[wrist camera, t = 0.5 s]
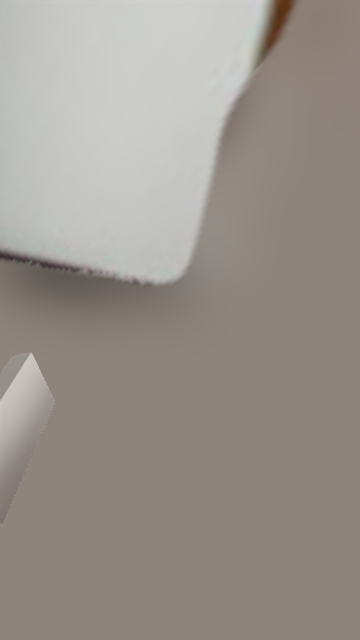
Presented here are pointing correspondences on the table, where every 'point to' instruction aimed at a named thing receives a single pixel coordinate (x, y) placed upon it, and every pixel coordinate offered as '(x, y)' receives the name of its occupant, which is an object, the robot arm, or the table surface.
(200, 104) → the table surface
